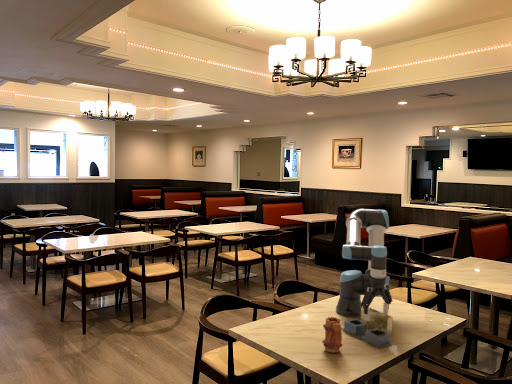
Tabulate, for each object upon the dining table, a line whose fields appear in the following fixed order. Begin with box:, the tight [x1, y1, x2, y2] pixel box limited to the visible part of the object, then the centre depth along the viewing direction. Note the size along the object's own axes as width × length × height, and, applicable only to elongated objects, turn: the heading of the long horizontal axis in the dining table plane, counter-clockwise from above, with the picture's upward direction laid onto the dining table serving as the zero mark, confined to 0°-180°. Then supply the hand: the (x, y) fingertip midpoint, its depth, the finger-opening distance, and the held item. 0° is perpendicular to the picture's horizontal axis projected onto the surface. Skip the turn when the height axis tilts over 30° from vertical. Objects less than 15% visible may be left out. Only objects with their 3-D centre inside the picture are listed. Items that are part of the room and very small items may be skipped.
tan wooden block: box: [360, 306, 394, 336], centre depth 210 cm, size 18×4×9 cm, turn 31°
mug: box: [321, 316, 343, 353], centre depth 182 cm, size 15×8×15 cm, turn 5°
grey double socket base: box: [342, 318, 392, 350], centre depth 200 cm, size 24×8×5 cm, turn 31°
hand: (376, 318), depth 210 cm, fingers open, 13 cm apart
